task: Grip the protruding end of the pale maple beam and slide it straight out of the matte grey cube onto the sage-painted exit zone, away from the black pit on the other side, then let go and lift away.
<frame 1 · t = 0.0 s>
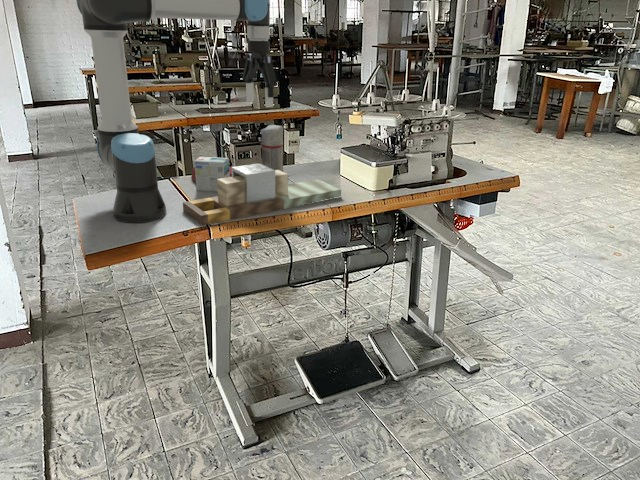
hand: (259, 104, 184), 28 cm above the table, fingers open, 13 cm apart
deck: (266, 204, 170), on the table
light bulb box: (213, 189, 184), on the table
maple beam: (253, 197, 166), point 3 cm above the table, touching deck
carton: (227, 179, 196), on the table, touching spray can
spray can: (272, 178, 198), on the table, touching carton
matte grey cube: (253, 206, 168), resting on deck
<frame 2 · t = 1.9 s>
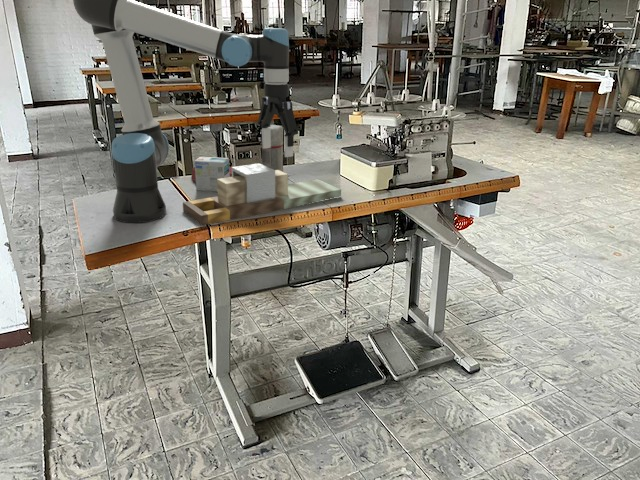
hand: (277, 152, 166), 17 cm above the table, fingers open, 13 cm apart
nothing on the table moved.
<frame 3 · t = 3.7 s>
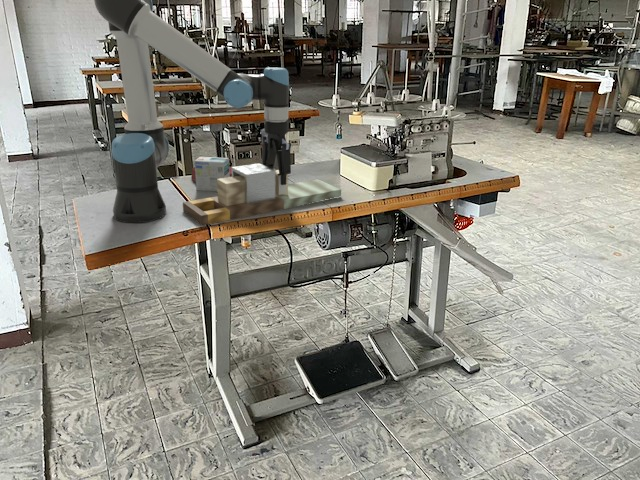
hand: (276, 190, 171), 4 cm above the table, fingers closed on maple beam, 6 cm apart
maple beam: (253, 197, 166), point 3 cm above the table, touching deck, gripper
everything else where it was.
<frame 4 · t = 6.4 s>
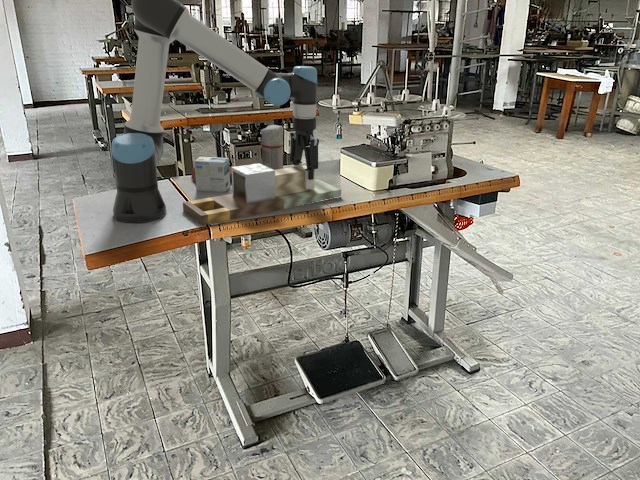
hand: (303, 185, 176), 4 cm above the table, fingers closed on maple beam, 6 cm apart
maple beam: (282, 192, 172), point 3 cm above the table, touching gripper
everything else where it was.
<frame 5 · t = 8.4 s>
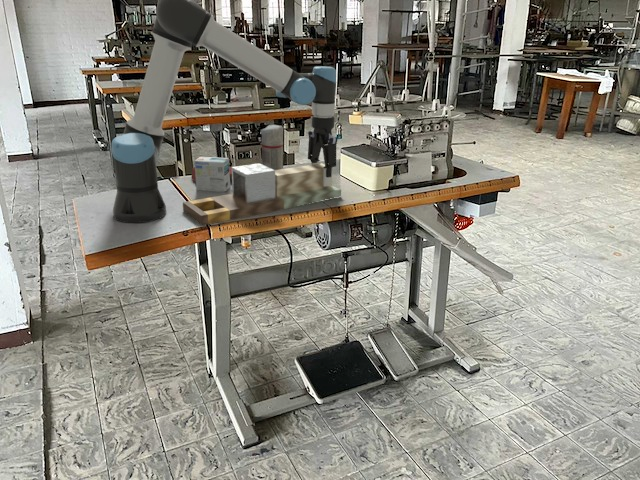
hand: (320, 183, 181), 4 cm above the table, fingers closed on maple beam, 6 cm apart
maple beam: (300, 189, 176), point 3 cm above the table, touching deck, gripper
everything else where it was.
when the fingers open (4 cm above the table, at t = 9.4 s): maple beam stays where it is, resting on deck.
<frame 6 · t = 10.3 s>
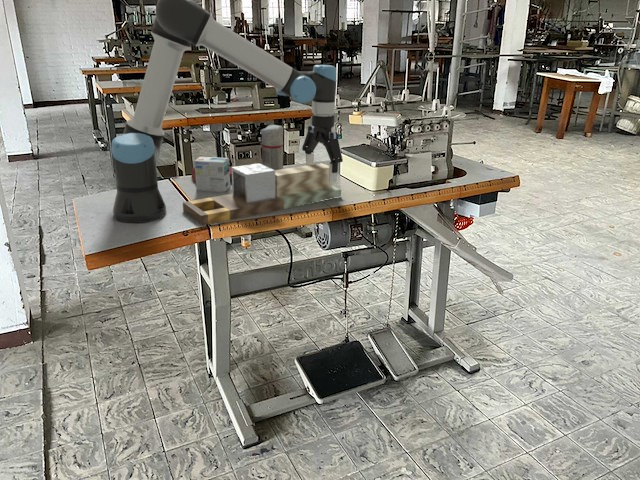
hand: (320, 176, 180), 6 cm above the table, fingers open, 13 cm apart
maple beam: (300, 189, 176), point 3 cm above the table, touching deck
everything else where it was.
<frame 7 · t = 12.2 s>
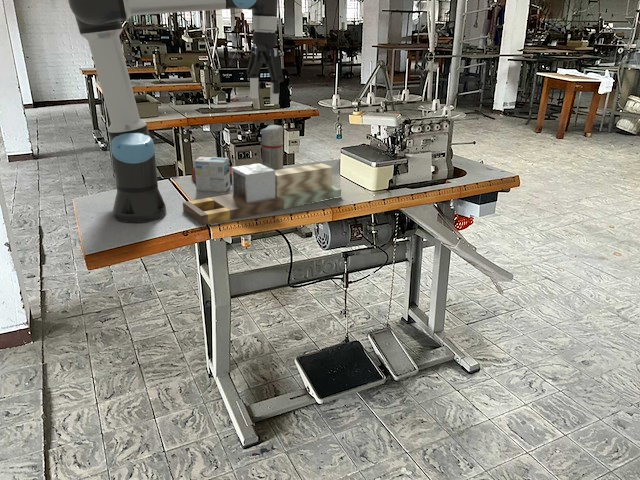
hand: (263, 101, 171), 31 cm above the table, fingers open, 13 cm apart
nothing on the table moved.
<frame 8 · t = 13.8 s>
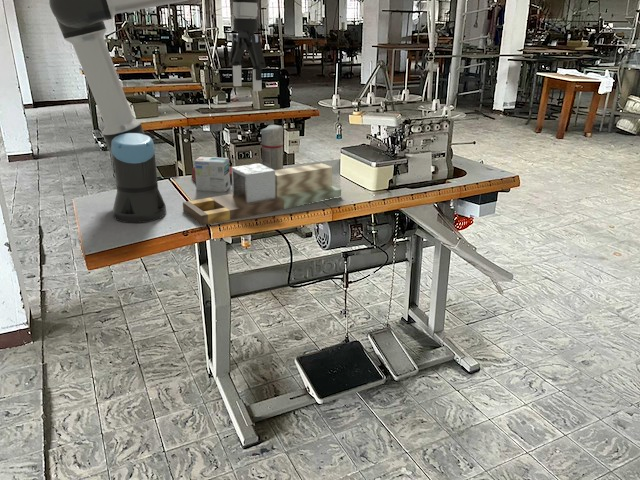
hand: (247, 88, 170), 35 cm above the table, fingers open, 13 cm apart
nothing on the table moved.
at the end: maple beam inside the target area (1.8 cm from its centre), point 3.0 cm above the table; maple beam tilted 0°; the gripper is holding nothing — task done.
